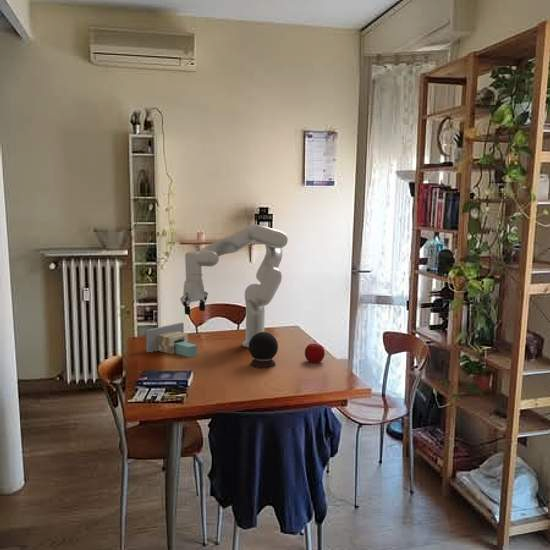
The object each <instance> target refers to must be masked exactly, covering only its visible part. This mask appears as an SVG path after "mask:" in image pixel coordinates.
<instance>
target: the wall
mask: <svg viewBox="0 0 550 550" xmlns="http://www.w3.org/2000/svg"><path fill="white" fill-rule="evenodd" d="M184 324H185V323H184V322H177V323H174V324H168V325H164V326H163V325H162V326H159V327H154V328H150V329H146V330H145V332H146V333H145V336H146V337H145V340H146V342H145V343H146V346H145V347H146V351H145V352H146V353H147V352H151V353H154V352H153V351H155V352H158V335H160V334H165V333H169V332H173V331H178V332H182V333H185V332H184V329H185V328H184V327H185V326H184Z"/></svg>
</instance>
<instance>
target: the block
mask: <svg viewBox="0 0 550 550" xmlns="http://www.w3.org/2000/svg"><path fill="white" fill-rule="evenodd" d="M177 340H179V341H183V342H187V343H189V334H188V333H185V332H184V333H182V332H178V331H173V332H169V333H165V334H160V335H158V351H159V352H162V353H165V354H170V355H172V354H175V353H174V341H177ZM158 351H157V352H158Z"/></svg>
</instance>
